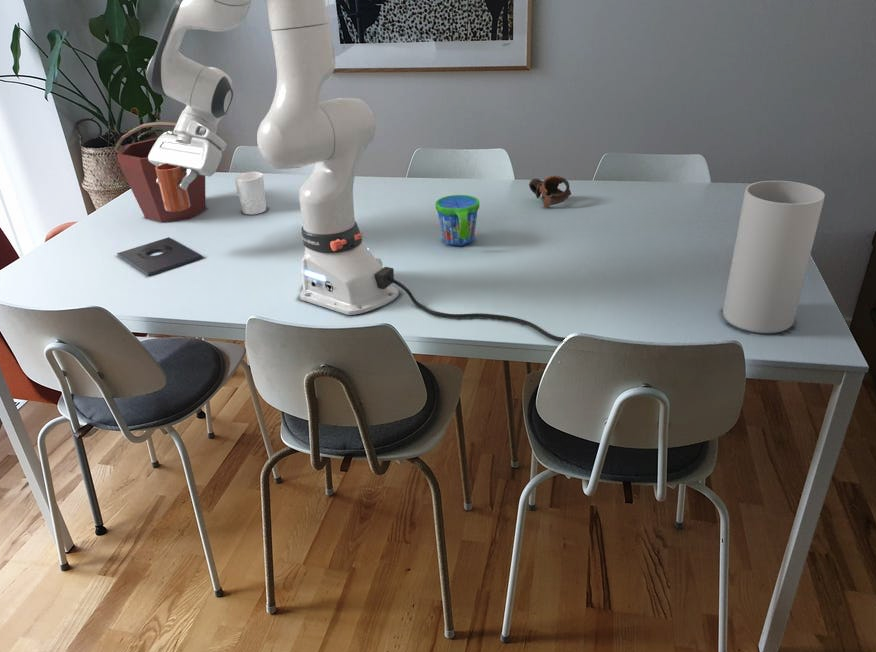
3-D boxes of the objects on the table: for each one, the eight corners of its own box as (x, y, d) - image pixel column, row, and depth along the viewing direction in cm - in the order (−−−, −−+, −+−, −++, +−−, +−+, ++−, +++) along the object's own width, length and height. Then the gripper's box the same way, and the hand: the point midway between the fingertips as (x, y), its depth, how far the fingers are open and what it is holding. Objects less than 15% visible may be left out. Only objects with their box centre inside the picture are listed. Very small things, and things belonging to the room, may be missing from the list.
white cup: (262, 215, 204) (256, 180, 199) (236, 215, 206) (229, 180, 201) (272, 206, 211) (267, 171, 206) (247, 205, 212) (241, 171, 207)
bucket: (230, 199, 218) (213, 113, 205) (199, 227, 199) (178, 133, 186) (154, 199, 222) (133, 114, 209) (116, 225, 204) (91, 134, 191)
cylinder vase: (714, 304, 146) (736, 181, 133) (780, 304, 145) (809, 180, 132) (732, 335, 136) (757, 204, 123) (803, 335, 134) (836, 203, 121)
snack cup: (435, 230, 188) (433, 192, 183) (476, 228, 188) (475, 189, 183) (438, 255, 174) (437, 214, 169) (483, 252, 175) (482, 211, 169)
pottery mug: (572, 198, 204) (577, 178, 197) (560, 223, 200) (564, 203, 193) (532, 184, 207) (536, 163, 200) (519, 208, 203) (522, 188, 196)
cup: (195, 206, 177) (186, 165, 171) (171, 213, 173) (162, 171, 168) (183, 201, 180) (174, 160, 175) (160, 207, 177) (150, 166, 172)
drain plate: (202, 258, 180) (201, 255, 180) (148, 276, 173) (147, 273, 172) (169, 239, 192) (168, 237, 192) (117, 256, 185) (116, 253, 184)
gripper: (155, 122, 178) (132, 174, 176) (214, 131, 168) (190, 185, 166) (173, 137, 183) (151, 186, 181) (232, 145, 173) (209, 198, 171)
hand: (170, 186), depth 174 cm, fingers closed on cup, 6 cm apart
